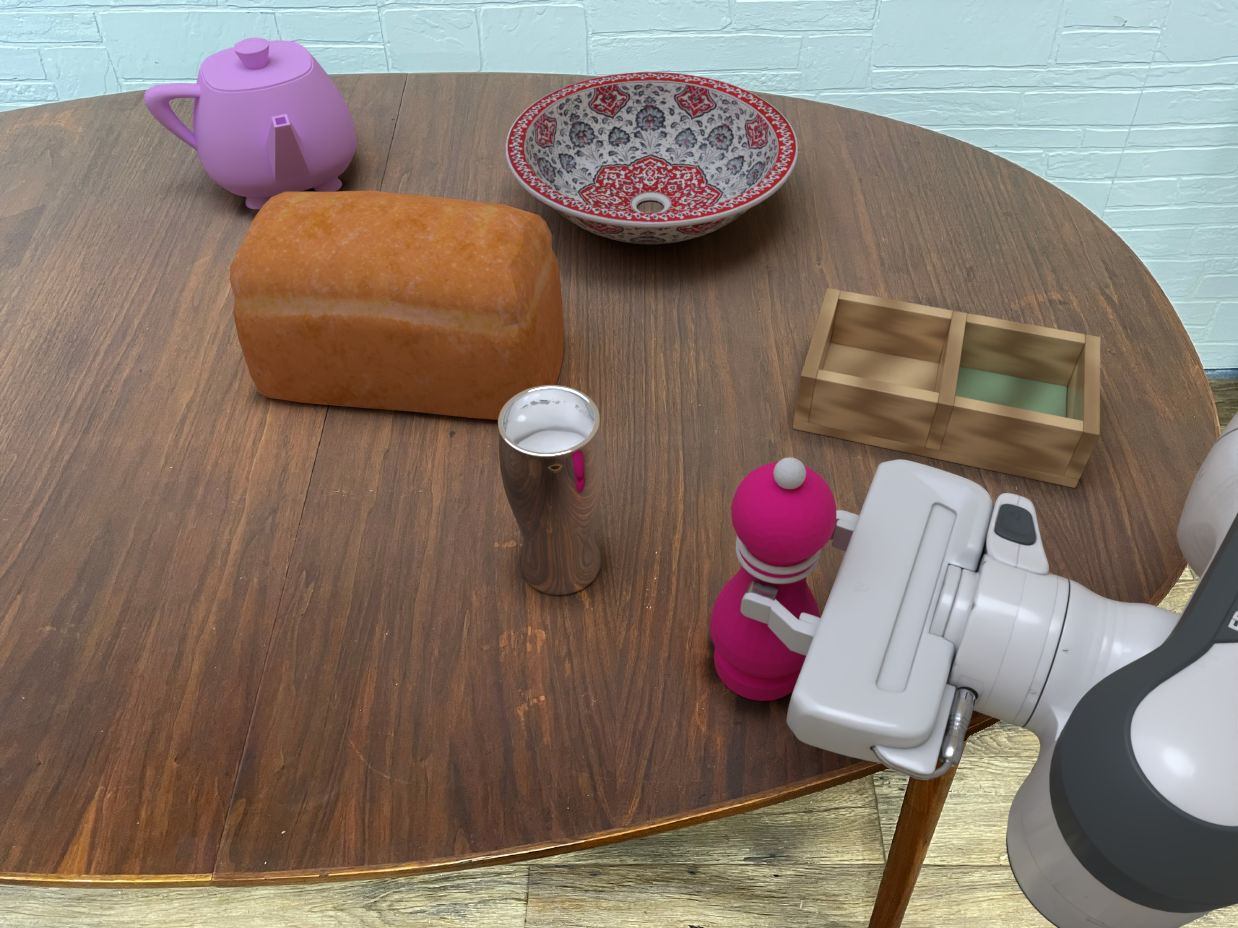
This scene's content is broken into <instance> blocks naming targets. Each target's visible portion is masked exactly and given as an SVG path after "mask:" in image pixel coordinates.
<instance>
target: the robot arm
mask: <svg viewBox="0 0 1238 928" xmlns="http://www.w3.org/2000/svg"><path fill="white" fill-rule="evenodd" d="M877 465H878V466H877V467H876V470H875V473H874V476H873V478H872V481H871V483H870V486H869V489H868V491H867V495H866V496H865V499H864V502H863V505H862V508H861V510H860V513H859V514H856V513H853V512H850V511H847V510H843V509H836V524H835V528H834V531H833V533H832V535H831V537H830V539H829V541H830V540H831V546H832V548H834V549H838V550H841V551H844V552H845V553H844V554H843V557H842V561H841V563H840V566H839V569H838V571H837V574H836V576H835V579H834V581H833V584H832V586H831V589H830V592H829V595H828V598H827V600H826V603H825V606H824V607H823V611H822V613H821V615H820V617H821V618H819V617H816V616H813V615H810V614H807V613H804V612H803V613H801V615H800V617H799V620H798V619H797V618H796V617H795V616H794V615H792V614H791V613H790V612H789V611H788V610H787V609H786V608H785V607H784V606H783V605H781V604H780V603H779V602H778V601H777V595H778V588H775V587H773V586H770V585H765V586H763V584H762V583H761V582H758V581H752V582H750V584H749V586H748V588H747V590H746V592H745V595H744V597H743V599H742V603H741V610H740V611H741V613H742V614H743V615H744V616H746V617H749V618H752V619H754V620H757V621H760V622H763V623H766V624H768V627H769V628H770V629H771V630H772V631H773V632H774V633H775V634H776V636H777V637H778V638H779V639H780V640H781V641H782V642H783V643H784V644H785V645H786V646H787V647H788V649H789V650H791V651H794V652H796V653H799V654H802V655H805V656H806V658H805V661H804V664H803V666H802V669H801V671H800V674H799V677H798V679H797V682H796V685H795V687H794V690H793V691H792V692H791V696H790V700H789V704H788V708H787V714H786V721H785V722H786V724H787V726H788V727H789V729H790V731H791V732H792V733H793V735H794V736H795V737H796V739H797V740H799V741H800V742H802V743H803V744H806V745H808V746H811V747H815V748H818V749H821V750H825V751H827V752H831V753H835V754H838V755H842V756H845V757H850V758H853V759H854V758H855V759H858V760H863V761H867V762H873V763H877V764H882V765H883V766H885V767H886V768H888V769H890V770H892V771H894V772H896V773H900V774H903V775H905V776H908V777H910V778H912V779H916V780H921V781H928V780H933V779H937V778H939V777H941V776H943V775H944V774H946V773H947V772H948V771H949V769H950V768H951V767H952V768H954V767H956V766H958V764H959V763H960V760H962V756H963V753H964V749H965V748H964V747H965V743H964V740H965V737H966V733H967V731H968V728H969V725H970V723H971V720H972V715H973V713H974V712H977V713H980V714H982V715H985V716H987V717H991V718H993V719H997V720H999V721H1003V722H1005V723H1007V724H1011V725H1014V726H1016V727H1019V728H1022V729H1025V730H1027V731H1030V732H1031V733H1032V734H1034V735H1035V736H1036V737H1037V739H1038V741H1039V752H1038V755H1037V758H1036V761H1035V763H1034V765H1033V767H1032V768H1031V770H1030V772H1029V774H1027V776H1026V778H1025V779H1024V780H1023V781H1022V783H1021V785H1020V786H1019V788H1018V790H1017V791H1016V793H1015V795H1014V797H1013V799H1012V802H1011V804H1010V807H1009V810H1008V815H1007V816H1008V817H1007V826H1006V834H1005V847H1006V856H1007V861H1008V864H1009V867H1010V870H1011V873H1012V875H1013V878H1014V880H1015V882H1016V884H1017V886H1018V888H1019V890H1020V891H1021V893H1022V894H1023V896H1024V897H1025V899H1026V900H1027V901H1028V902H1029V904H1031V906H1032V907H1033V909H1035V910H1036V912H1037V913H1038V914H1039V915H1041V916H1042V917H1043V918H1044V919H1045V920H1047V921H1048V922H1049V923H1050V924H1051V925H1053V926H1054V927H1056V928H1181V927H1184V926H1186V925H1189V924H1190V923H1192V922H1194V921H1196V920H1199V918H1202V917H1204V916H1206V915H1207V914H1209V913H1211V912H1213V911H1216V910H1221V909H1225V908H1227V907H1231V906H1234V905H1235V906H1236V905H1238V410H1237V411H1236V412H1235V413H1234V415H1233V417H1231V419H1230V421H1228V423H1227V424H1226V426H1225V427H1224V429H1222V432H1221V433H1220V435H1219V436H1218V437H1217V439H1216V440H1215V442H1214V444H1213V445H1212V447H1211V448H1210V449H1209V452H1208V453H1207V455H1206V457H1204V460H1203V462H1202V463H1201V465H1200V467H1199V469H1198V471H1197V473H1196V475H1195V476H1194V479H1193V481H1192V483H1191V485H1190V488H1189V491H1188V494H1187V497H1186V498H1185V501H1184V505H1183V509H1182V511H1181V515H1180V518H1179V521H1178V525H1177V528H1176V529H1177V530H1176V536H1175V537H1176V541H1177V544H1178V547H1179V550H1180V552H1181V554H1182V556H1183V558H1184V560H1185V561H1186V563H1187V564H1188V567H1190V569H1191V570H1192V572H1193V573H1194V574H1195V575H1196V576H1197V577H1198V578H1199V579H1198V581H1197V583H1196V586H1195V587H1194V589H1193V591H1192V592H1191V595H1189V598H1188V600H1187V602H1186V604H1185V605H1184V607H1183V609H1182V611H1181V613H1180V612H1176V611H1174V610H1173V611H1172V610H1170V609H1166V608H1163V607H1160V606H1157V605H1153V604H1150V603H1144V602H1126V601H1119V600H1115V599H1110V598H1107V597H1104V596H1102V595H1099V594H1097V593H1096V592H1094V591H1092V590H1091V589H1089V588H1087V586H1084V585H1083V584H1081V583H1080V582H1077V581H1075V580H1073V579H1070V578H1067V577H1064V576H1060V575H1057V574H1054V573H1051V572H1050V564H1049V561H1048V557H1047V555H1046V551H1045V547H1044V545H1043V541H1042V536H1041V533H1040V527H1039V522H1038V517H1037V512H1036V509H1035V506H1034V504H1033V502H1032V500H1030V499H1029V498H1027V497H1025V496H1022V495H1018V494H1016V493H1010V492H1004V493H1003V492H1002V493H1000V495H998V497H997V498H996V500H995V502H993V499H992V497H991V495H990V493H989V492H988V491H987V489H985V488H984V487H983V486H982V485H980V484H978V483H977V482H975V481H973V480H971V479H969V478H966V477H963V476H961V475H958V474H955V473H952V472H949V471H946V470H944V469H940V468H938V467H933V466H931V465H927V464H923V463H920V462H916V461H912V460H907V459H901V458H899V459H893V460H888V461H883V462H880V463H879V464H877ZM938 759H939V762H940V763H941V765H940V766H939V767H937V764H938ZM936 767H937V768H936Z"/></svg>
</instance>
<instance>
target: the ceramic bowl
mask: <svg viewBox="0 0 1238 928" xmlns="http://www.w3.org/2000/svg"><path fill="white" fill-rule="evenodd" d="M504 150H505V151H504V152H505V158H506V163H507V166H508V168H509V171H510V173H511V175H512V176H513V177H514V179H515V181H516V182H517V183H518V184H519V185H520V187H522V188H523V189H524V190H525V191H526V192H527V193H529V195H531V196H533V198H535V199H537V200H538V201H539V202H542V203H543V204H545V205H546V206H549V208H550V207H551V208H552V209H553V210H554V211H555V212H556V213H558V214H559V215H560V216H562V217H563V218H564V219H566V220H568V222H570V223H572V224H574V225H576V226H577V227H579V228H581V229H583V230H585V231H587V232H589V233H592V234H594V235H597V236H599V237H602V238H605V239H609V240H614V241H617V242H622V243H628V244H638V245H664V244H665V245H666V244H674V243H679V242H685V241H689V240H693V239H697V238H700V237H703V236H707V235H708V234H711V233H713V232H715V231H718V230H720V229H722V228H723V227H726V226H727V225H729V224H730V223H732V222H734V221H735V220H737V219H738V218H739V217H741V216H742V215H743V214H745V213H746V212H748V210H749V209H751V208H753V207H755V206H757V205H759V204H761V203H762V202H764V201H766V200H767V199H769V198H770V197H771V196H773V195H774V194H775V193H776V192H777V191H779V189H781V187H782V186H784V184H785V183H786V182H787V180H788V179H789V178H790V177H791V175H792V173H793V171H794V170H795V166H796V164H797V161H798V157H799V144H798V138H797V135H796V133H795V130H794V128H793V127H792V125H791V122H790V121H789V120H788V119H787V118H786V116H784V114H783V113H782V112H781V111H780V110H779V109H778V108H777V107H775V106H774V105H772V104H771V103H770V102H768V101H767V100H765V99H764V98H762V97H761V96H759V95H757V94H755V93H753V92H751V91H749V90H747V89H744V88H742V87H740V86H736V85H734V84H731V83H729V82H725V81H722V80H719V79H715V78H710V77H706V76H699V75H694V74H687V73H678V72H662V71H640V72H638V71H637V72H624V73H616V74H609V75H602V76H597V77H593V78H588V79H585V80H581V81H578V82H575V83H571V84H568V85H566V86H563V87H560V88H559V89H556V90H554V91H552V92H550V93H548V94H546V95H544V96H543V97H541V98H539V99H538V100H536V101H534V102H533V103H532V104H530V105H529V106H528V107H526V108H525V110H523V111H522V112H521V113H520V114H519V116H517V118H516V119H515V121H514V122H513V123H512V125H511V127H510V128H509V130H508V133H507V136H506V140H505V146H504ZM647 201H653V202H654V201H655V202H657V203H661V204H662V205H663V209H662V210H660V211H658V212H643V211H641V210H639V209H638V208H637V207H638V205H639V204H640V203H643V202H647Z"/></svg>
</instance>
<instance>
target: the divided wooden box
mask: <svg viewBox="0 0 1238 928" xmlns="http://www.w3.org/2000/svg"><path fill="white" fill-rule="evenodd" d="M796 397H797V398H796V403H795V411H794V416H793V424H792V429H793V430H798V431H802V432H806V433H811V434H816V435H821V436H826V437H830V438H834V439H838V440H839V439H840V440H845V441H850V442H855V443H859V444H863V445H867V446H874V447H877V448H883V449H887V450H893V451H897V452H902V453H907V454H911V455H916V456H921V457H926V458H931V459H934V460H940V461H945V462H948V463H949V462H950V463H955V464H959V465H963V466H968V467H973V468H979V469H982V470H987V471H991V472H992V471H993V472H997V473H1002V474H1005V475H1006V474H1007V475H1011V476H1016V477H1021V478H1026V479H1031V480H1036V481H1040V482H1044V483H1048V484H1049V483H1050V484H1055V485H1059V486H1062V487H1063V486H1064V487H1069V488H1072V489H1076V487H1077V486H1078V483H1079V482H1080V479H1081V477H1082V474H1083V472H1084V470H1085V468H1086V466H1087V464H1088V461H1089V459H1090V457H1091V456H1092V453H1093V450H1094V448H1095V446H1096V444H1097V442H1098V440H1099V438H1100V435H1101V336H1097V335H1092V334H1085V333H1080V332H1075V331H1068V330H1063V329H1058V328H1052V327H1046V326H1042V325H1041V326H1040V325H1035V324H1030V323H1024V322H1019V321H1013V320H1008V319H1003V318H997V317H991V316H987V315H986V316H985V315H979V314H976V313H975V314H974V313H969V312H964V311H957V310H952V309H946V308H942V307H937V306H936V307H935V306H930V305H924V304H919V303H913V302H908V301H903V300H896V299H891V298H885V297H880V296H874V295H868V294H863V293H857V292H853V291H847V290H841V289H836V288H830V287H827V288H826V290H825V293H824V297H823V300H822V303H821V306H820V310H819V313H818V318H817V320H816V323H815V327H814V330H813V334H812V337H811V340H810V343H809V346H808V350H807V354H806V356H805V360H804V364H803V367H802V369H801V373H800V379H799V385H798V391H797V396H796Z"/></svg>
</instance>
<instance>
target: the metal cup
mask: <svg viewBox="0 0 1238 928" xmlns="http://www.w3.org/2000/svg"><path fill="white" fill-rule="evenodd" d="M600 416H601V415H600V411H599V408H598V406H597V404H596V403H595V402H594V400H592V399H591V398H590V397H589V395H587V394H586V393H584V392H582V391H580V390H579V389H575V388H573V387H571V386H566V385H559V384H556V385H543V386H537V387H533V388H529V389H527V390H524V391H522V392H520V393H518V394H516V395H515V396H513V397H512V398H511V399H510V400H509V401H508V402H507V403H506V404H505V405H504V406H503V408H502V409H501V411H500V414H499V417H498V420H497V428H498V458H499V469H500V474H501V475H500V476H501V479H502V480H501V481H502V486H503V489H504V493H505V495H506V498H507V501H508V505H509V506H510V509H511V512H512V514H513V517H514V519H515V521H516V522H515V523H516V524H517V527H518V529H519V532H520V536H521V541H522V543H521V544H522V545H521V550H520V556H519V570H520V573H521V575H522V577H523V579H524V580H525V582H526V583H527V584H528V585H529V586H530V587H531V588H532V589H535V590H536V591H538V592H541V593H543V594H547V595H551V596H552V595H553V596H567V595H571V594H575V593H577V592H579V591H582V590H584V589H585V588H587V587H588V586H590V584H592V583H593V581H594V580H595V579H596V578H597V576H598V575H599V573H600V570H601V567H602V554H601V550H600V546H599V543H598V541H597V537H596V531H595V530H596V522H597V517H598V513H599V508H600V504H601V500H602V495H603V490H604V482H605V449H604V442H603V434H602V427H601V417H600Z"/></svg>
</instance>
